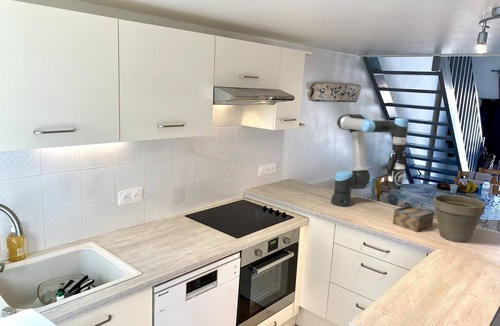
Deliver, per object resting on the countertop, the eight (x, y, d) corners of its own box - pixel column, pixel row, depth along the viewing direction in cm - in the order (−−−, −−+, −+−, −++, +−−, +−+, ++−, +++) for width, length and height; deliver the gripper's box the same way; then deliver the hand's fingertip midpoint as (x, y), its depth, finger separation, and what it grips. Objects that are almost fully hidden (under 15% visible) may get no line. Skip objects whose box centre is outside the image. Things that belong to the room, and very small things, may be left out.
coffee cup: (400, 187, 225) (403, 163, 222) (405, 190, 215) (407, 166, 213) (384, 186, 226) (387, 162, 223) (388, 189, 216) (391, 165, 214)
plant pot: (421, 235, 203) (425, 198, 199) (439, 225, 219) (444, 191, 215) (469, 250, 185) (476, 210, 180) (486, 239, 200) (492, 202, 196)
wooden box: (392, 223, 220) (394, 209, 219) (407, 219, 229) (409, 205, 228) (417, 232, 208) (419, 217, 206) (432, 227, 217) (434, 212, 215)
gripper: (393, 145, 207) (389, 183, 211) (415, 143, 219) (411, 179, 223) (382, 144, 213) (378, 180, 217) (404, 142, 225) (400, 177, 229)
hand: (395, 180), depth 220 cm, fingers closed on coffee cup, 9 cm apart
